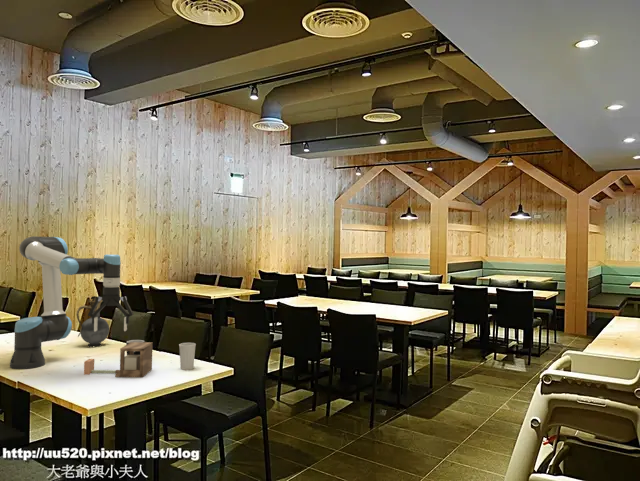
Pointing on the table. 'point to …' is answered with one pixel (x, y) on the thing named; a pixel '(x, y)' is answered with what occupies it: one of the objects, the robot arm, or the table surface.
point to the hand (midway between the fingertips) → (110, 330)
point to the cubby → (145, 359)
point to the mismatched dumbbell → (130, 364)
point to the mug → (134, 351)
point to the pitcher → (88, 328)
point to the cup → (187, 355)
